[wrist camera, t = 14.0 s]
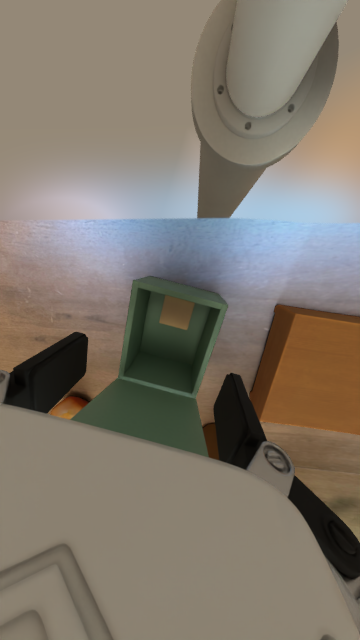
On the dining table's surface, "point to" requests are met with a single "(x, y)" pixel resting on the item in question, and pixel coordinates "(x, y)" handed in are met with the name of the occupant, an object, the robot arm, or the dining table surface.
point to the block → (176, 312)
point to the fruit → (68, 407)
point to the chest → (169, 337)
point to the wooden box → (310, 371)
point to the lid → (147, 415)
